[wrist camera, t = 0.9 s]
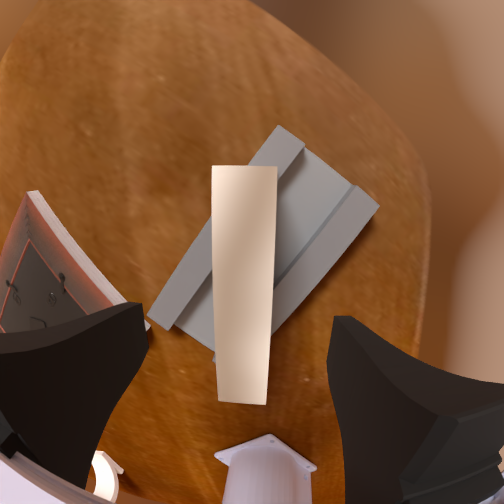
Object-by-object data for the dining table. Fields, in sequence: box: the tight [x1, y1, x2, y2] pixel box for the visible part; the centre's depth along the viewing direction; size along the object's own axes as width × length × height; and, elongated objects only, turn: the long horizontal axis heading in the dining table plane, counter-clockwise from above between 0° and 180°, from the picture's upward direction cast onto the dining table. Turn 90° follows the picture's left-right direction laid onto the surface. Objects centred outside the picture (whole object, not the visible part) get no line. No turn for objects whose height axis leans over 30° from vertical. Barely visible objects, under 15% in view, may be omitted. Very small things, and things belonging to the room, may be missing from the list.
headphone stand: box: [92, 451, 124, 503], centre depth 25 cm, size 5×6×12 cm
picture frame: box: [0, 190, 151, 333], centre depth 23 cm, size 16×2×22 cm
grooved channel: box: [147, 125, 379, 363], centre depth 19 cm, size 8×16×2 cm, turn 144°
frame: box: [212, 166, 277, 405], centre depth 15 cm, size 3×12×6 cm, turn 179°
